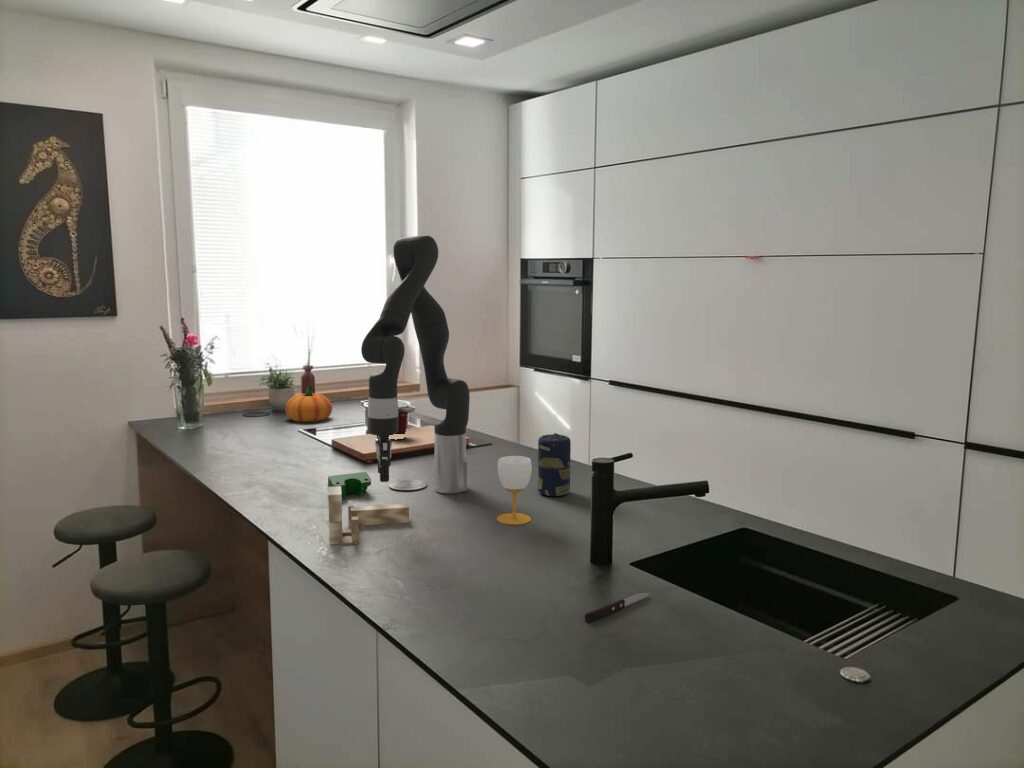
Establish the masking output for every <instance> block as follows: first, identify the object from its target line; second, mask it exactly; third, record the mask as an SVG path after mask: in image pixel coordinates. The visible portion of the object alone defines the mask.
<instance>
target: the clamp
mask: <svg viewBox="0 0 1024 768" xmlns="http://www.w3.org/2000/svg"><path fill="white" fill-rule="evenodd" d="M327 477H328V478H327V488H328V487H334V486H341V494H342V499H343V500H345V499H346V495H350V494H358V495H359V496H360V497H363V493H365V492H366V491H367V490H368V488H369V487H370V486H371V485H372V478H371V476H370V475H369V474H368V472H367V471H361V472H354V473H353V472H352V473H344V474H336V475H328V476H327Z"/></svg>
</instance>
